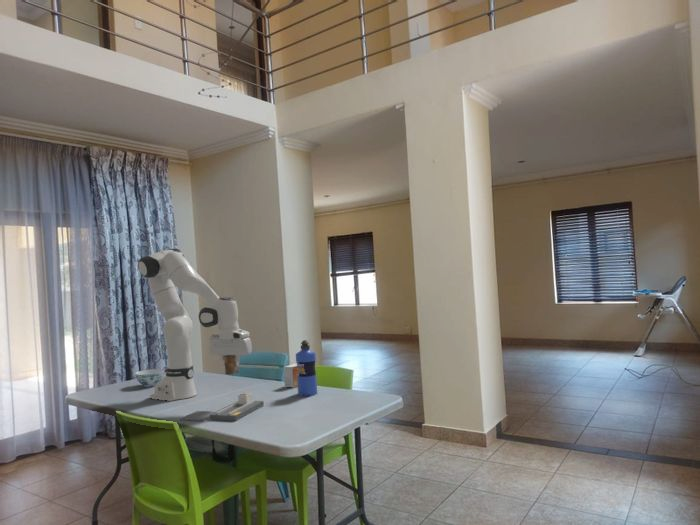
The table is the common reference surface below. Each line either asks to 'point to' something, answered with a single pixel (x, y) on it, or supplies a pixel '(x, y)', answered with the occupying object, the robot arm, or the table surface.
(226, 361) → the wooden block
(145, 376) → the chinaware
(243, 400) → the switch tab
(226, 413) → the switch panel
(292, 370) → the small box
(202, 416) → the mat
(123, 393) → the table surface
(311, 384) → the water bottle
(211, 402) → the table surface
